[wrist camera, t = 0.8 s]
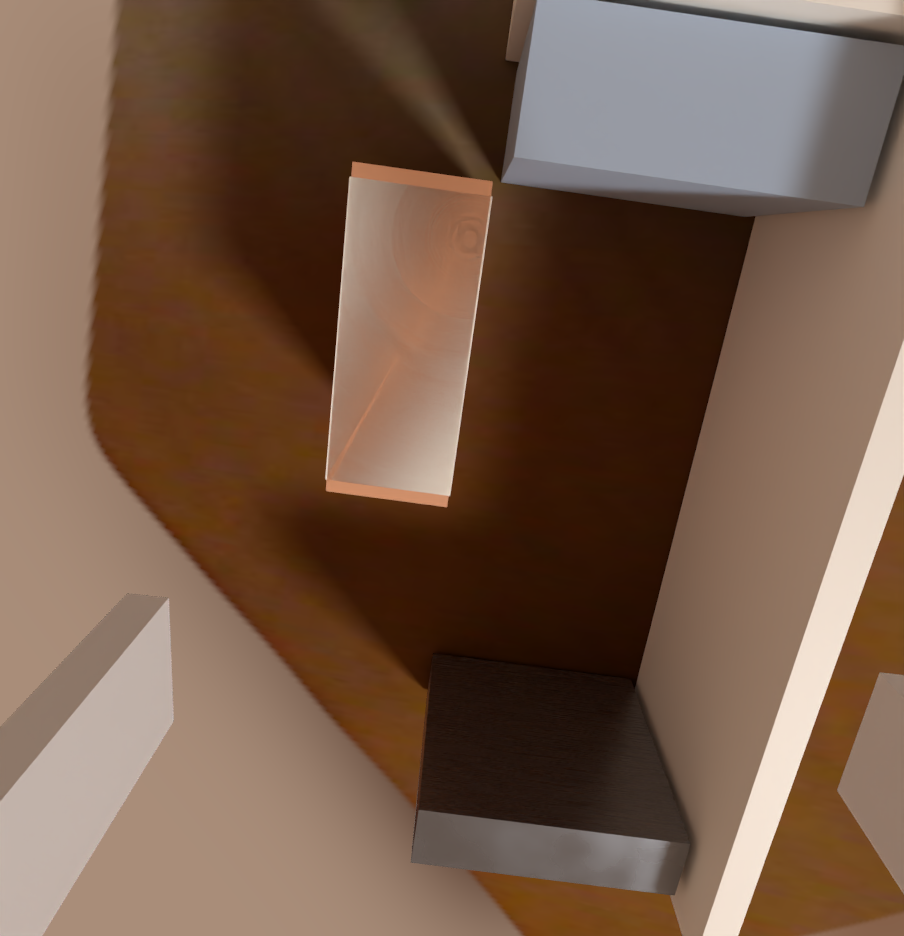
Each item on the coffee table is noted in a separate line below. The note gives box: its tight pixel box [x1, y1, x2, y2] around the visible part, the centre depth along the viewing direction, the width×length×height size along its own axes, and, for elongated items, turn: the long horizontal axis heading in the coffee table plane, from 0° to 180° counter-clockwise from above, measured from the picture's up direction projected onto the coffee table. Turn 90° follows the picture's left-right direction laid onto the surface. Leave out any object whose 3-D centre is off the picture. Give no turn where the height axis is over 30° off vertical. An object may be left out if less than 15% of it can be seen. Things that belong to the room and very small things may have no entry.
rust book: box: [325, 162, 493, 507], centre depth 25 cm, size 4×10×9 cm, turn 172°
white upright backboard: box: [505, 0, 904, 936], centre depth 25 cm, size 32×12×12 cm, turn 172°
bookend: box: [411, 653, 691, 895], centre depth 30 cm, size 2×10×10 cm, turn 82°
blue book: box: [501, 0, 904, 217], centre depth 23 cm, size 4×10×9 cm, turn 82°
